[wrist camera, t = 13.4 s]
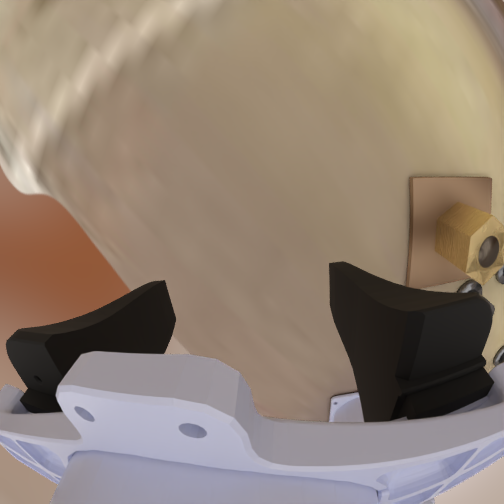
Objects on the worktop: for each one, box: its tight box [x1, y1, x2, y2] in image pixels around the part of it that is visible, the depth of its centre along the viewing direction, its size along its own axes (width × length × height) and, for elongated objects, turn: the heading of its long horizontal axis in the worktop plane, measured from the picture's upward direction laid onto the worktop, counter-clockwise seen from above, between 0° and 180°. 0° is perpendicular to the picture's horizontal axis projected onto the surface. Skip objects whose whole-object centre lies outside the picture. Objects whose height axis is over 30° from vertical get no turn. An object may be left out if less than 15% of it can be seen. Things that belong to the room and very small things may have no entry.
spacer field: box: [457, 265, 504, 366], centre depth 23 cm, size 22×17×4 cm
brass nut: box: [435, 202, 504, 285], centre depth 18 cm, size 6×5×5 cm
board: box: [406, 177, 492, 289], centre depth 20 cm, size 10×10×1 cm
